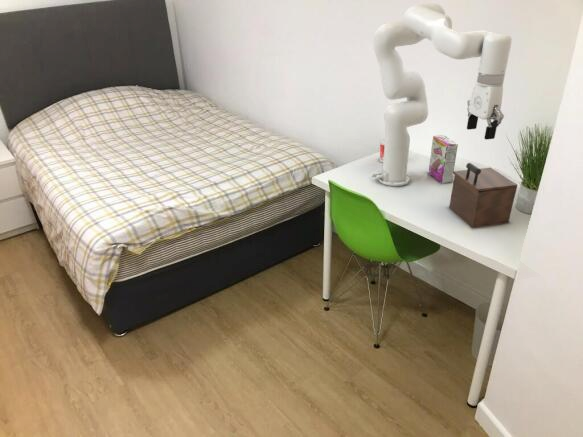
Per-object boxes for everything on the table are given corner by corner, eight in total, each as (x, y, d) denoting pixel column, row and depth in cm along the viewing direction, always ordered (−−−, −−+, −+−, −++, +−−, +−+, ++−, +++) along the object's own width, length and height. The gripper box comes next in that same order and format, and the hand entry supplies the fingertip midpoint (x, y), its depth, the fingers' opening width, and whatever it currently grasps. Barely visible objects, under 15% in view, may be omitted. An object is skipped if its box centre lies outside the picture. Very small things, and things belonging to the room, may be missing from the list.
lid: (477, 191, 148) (480, 175, 145) (452, 173, 161) (455, 158, 158) (517, 187, 151) (521, 171, 148) (490, 169, 164) (493, 154, 161)
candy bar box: (427, 173, 195) (432, 135, 187) (438, 171, 196) (443, 134, 188) (441, 184, 185) (447, 145, 177) (452, 182, 186) (458, 143, 178)
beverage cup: (383, 164, 204) (385, 133, 197) (375, 159, 209) (377, 129, 202) (394, 161, 206) (397, 131, 199) (387, 157, 211) (389, 127, 204)
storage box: (472, 228, 155) (479, 192, 148) (449, 208, 168) (454, 174, 161) (508, 222, 158) (517, 187, 151) (483, 203, 170) (490, 169, 164)
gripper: (463, 73, 145) (454, 126, 153) (497, 86, 130) (485, 144, 139) (484, 71, 146) (475, 124, 155) (520, 84, 132) (507, 141, 140)
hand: (480, 133), depth 147 cm, fingers open, 9 cm apart
